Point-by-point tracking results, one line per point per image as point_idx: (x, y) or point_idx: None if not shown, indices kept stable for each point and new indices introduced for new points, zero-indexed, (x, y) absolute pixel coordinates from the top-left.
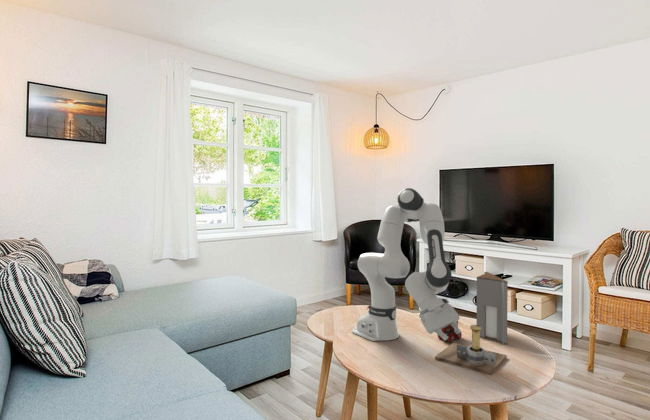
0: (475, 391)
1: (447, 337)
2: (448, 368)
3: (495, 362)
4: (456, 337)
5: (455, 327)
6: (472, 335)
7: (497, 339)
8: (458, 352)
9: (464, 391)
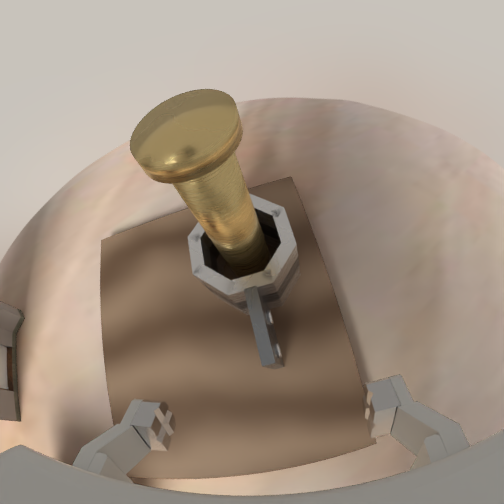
0: (432, 153)
1: (384, 379)
2: (403, 324)
3: (192, 219)
4: None
5: (128, 451)
6: (237, 188)
7: (10, 343)
8: (281, 353)
9: (462, 171)
